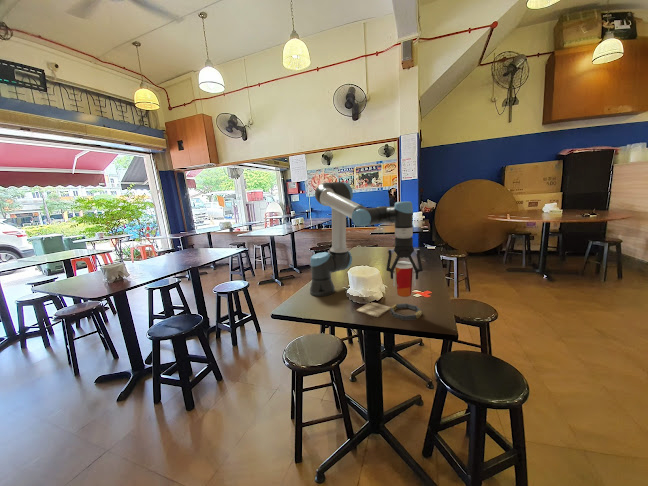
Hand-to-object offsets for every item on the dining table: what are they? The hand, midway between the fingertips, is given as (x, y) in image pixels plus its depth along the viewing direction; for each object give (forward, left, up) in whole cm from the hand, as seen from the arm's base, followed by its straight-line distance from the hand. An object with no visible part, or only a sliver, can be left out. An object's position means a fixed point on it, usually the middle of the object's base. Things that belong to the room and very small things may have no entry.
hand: (404, 285), depth 115 cm
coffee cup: (0, 0, -4) cm, 4 cm away
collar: (0, 0, -13) cm, 13 cm away
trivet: (-14, -5, -13) cm, 20 cm away
